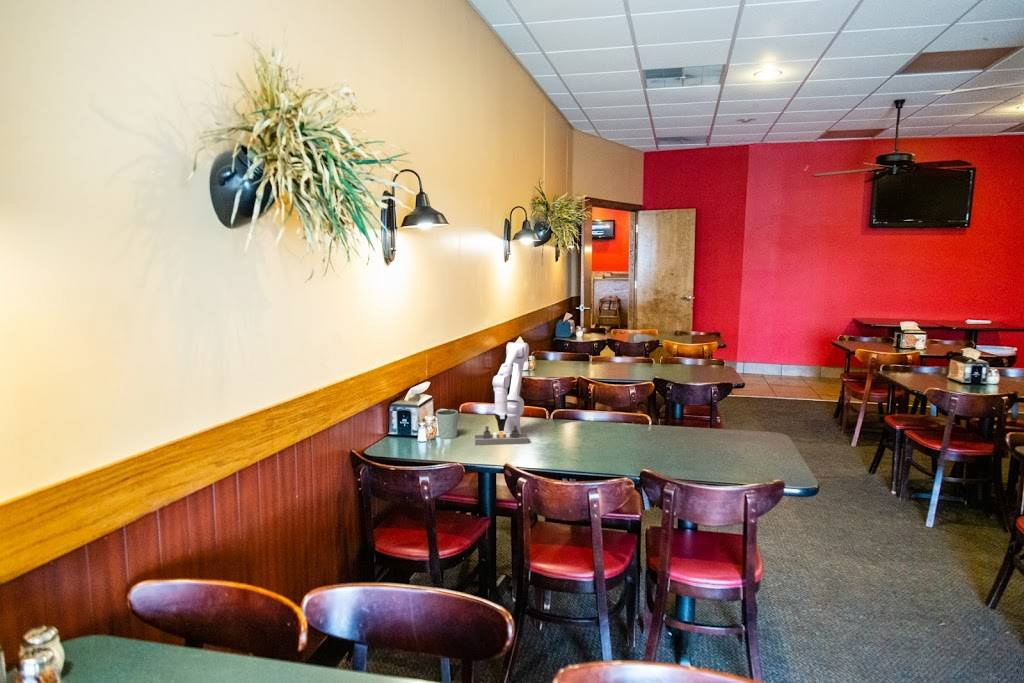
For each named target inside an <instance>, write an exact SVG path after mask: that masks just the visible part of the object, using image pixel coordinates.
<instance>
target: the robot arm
mask: <svg viewBox="0 0 1024 683" xmlns="http://www.w3.org/2000/svg"><path fill="white" fill-rule="evenodd" d="M505 348H506V349H505V350H506V359H505V362H504V363H502V364H501V366H500V367H499V370H498V372H497V374H496V375H494V376H493V378H492V386H493V393H494V410H492V411H491V412H492V414H495V415H494V417H495V420H496V422H497V429H498V431H499V432H503V434H506V432H509V433H510V434H512V431H514V426H515V425H516V426H517V430H518V431H519V434H522V431H521V416H523V415H524V411H525V406H524V405H525V401H524V399H523V398H522V397H521V396H520V392H521V385H522V378H523V373H524V372H523V371H524V365H525V362H527V361H528V359H529V352H530V347H529V344H528V343H527V342H510V341H509V342H507V344H506V347H505ZM508 388H509V393H508Z"/></svg>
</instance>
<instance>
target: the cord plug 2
mask: <svg viewBox="0 0 1024 683" xmlns="http://www.w3.org/2000/svg"><path fill="white" fill-rule="evenodd" d="M512 437H519V431H518V430H517V426H516V425H515V426H514V431H512Z"/></svg>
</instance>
